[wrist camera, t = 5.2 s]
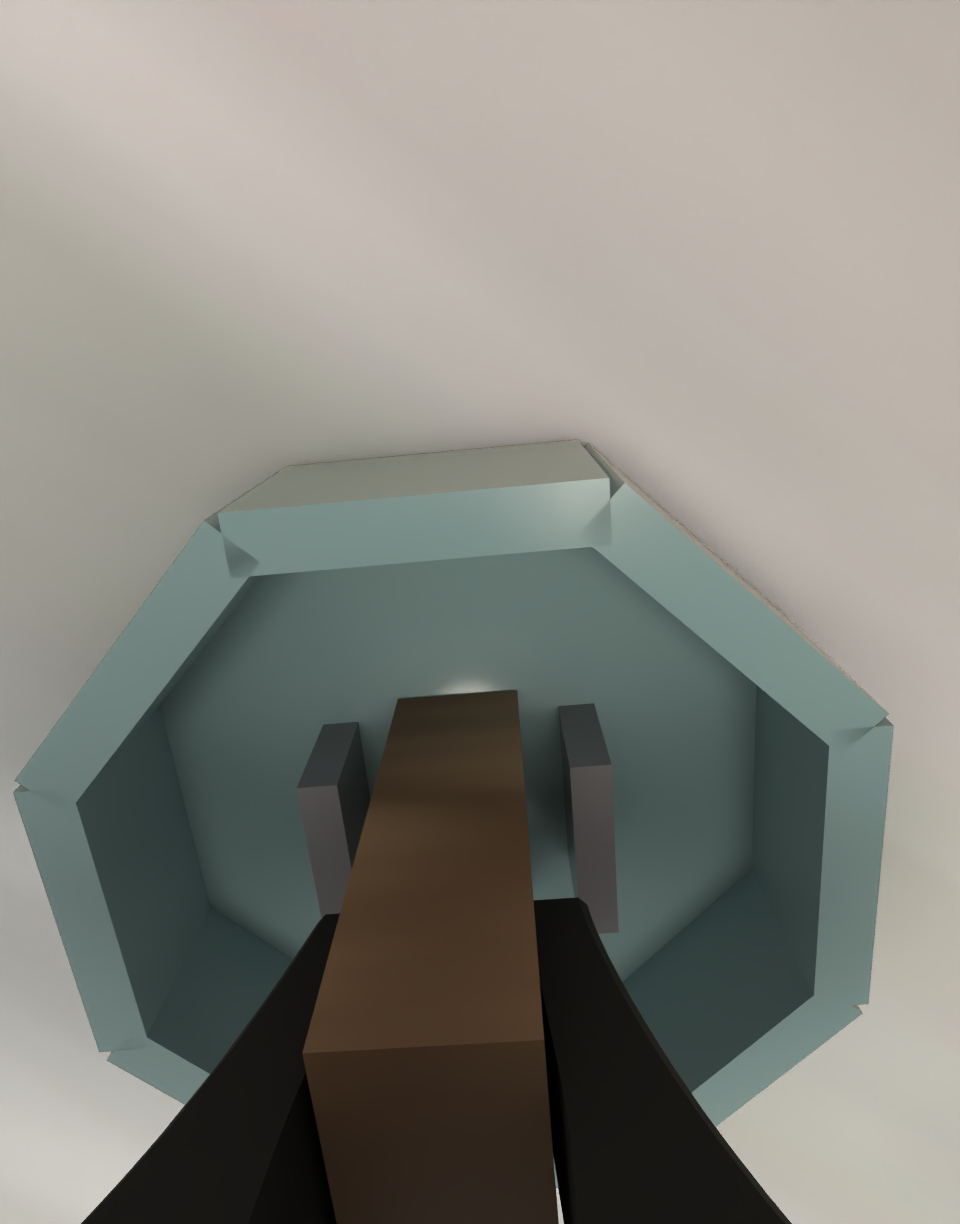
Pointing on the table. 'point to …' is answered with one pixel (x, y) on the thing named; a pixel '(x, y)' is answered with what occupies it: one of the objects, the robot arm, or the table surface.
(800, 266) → the table surface
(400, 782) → the wooden block
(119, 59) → the table surface
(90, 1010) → the bowl
